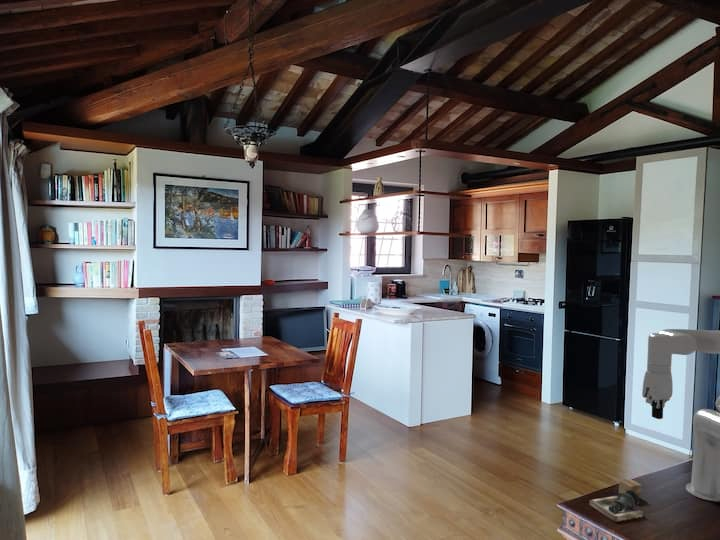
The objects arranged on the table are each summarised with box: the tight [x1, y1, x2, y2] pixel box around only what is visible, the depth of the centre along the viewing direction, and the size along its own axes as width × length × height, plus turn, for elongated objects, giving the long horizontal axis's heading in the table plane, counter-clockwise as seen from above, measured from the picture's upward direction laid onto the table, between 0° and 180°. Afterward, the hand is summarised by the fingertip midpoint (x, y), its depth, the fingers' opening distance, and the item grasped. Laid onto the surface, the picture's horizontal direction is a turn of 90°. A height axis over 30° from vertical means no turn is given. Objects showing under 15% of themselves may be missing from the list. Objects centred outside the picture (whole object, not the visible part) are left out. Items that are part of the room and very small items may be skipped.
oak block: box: [618, 478, 642, 499], centre depth 192 cm, size 5×5×5 cm
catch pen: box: [589, 495, 644, 523], centre depth 181 cm, size 12×11×2 cm
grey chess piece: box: [609, 490, 640, 514], centre depth 180 cm, size 6×6×12 cm
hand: (657, 417), depth 190 cm, fingers closed
